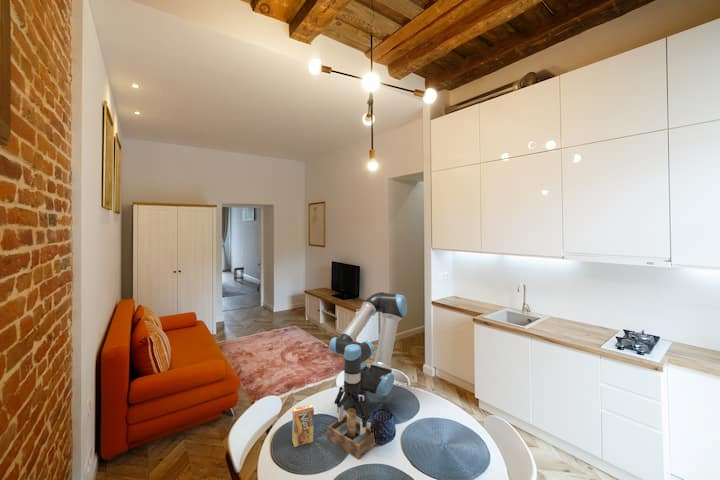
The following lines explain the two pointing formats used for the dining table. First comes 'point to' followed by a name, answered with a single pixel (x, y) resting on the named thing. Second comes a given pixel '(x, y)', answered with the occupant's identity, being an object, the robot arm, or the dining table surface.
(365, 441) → the crate
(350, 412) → the peg
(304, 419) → the candy box
